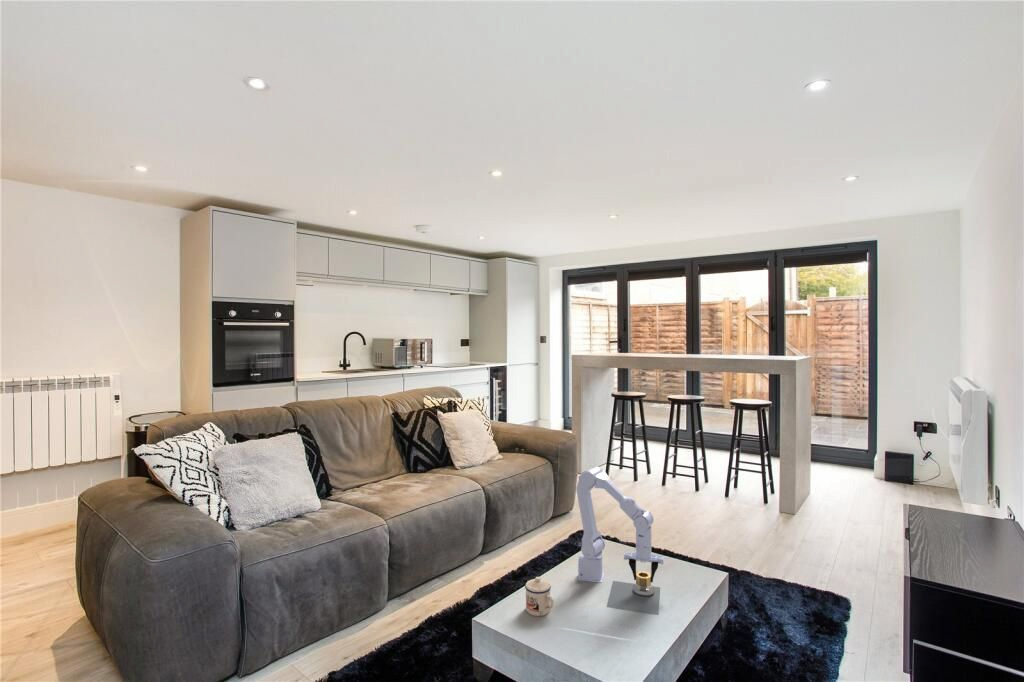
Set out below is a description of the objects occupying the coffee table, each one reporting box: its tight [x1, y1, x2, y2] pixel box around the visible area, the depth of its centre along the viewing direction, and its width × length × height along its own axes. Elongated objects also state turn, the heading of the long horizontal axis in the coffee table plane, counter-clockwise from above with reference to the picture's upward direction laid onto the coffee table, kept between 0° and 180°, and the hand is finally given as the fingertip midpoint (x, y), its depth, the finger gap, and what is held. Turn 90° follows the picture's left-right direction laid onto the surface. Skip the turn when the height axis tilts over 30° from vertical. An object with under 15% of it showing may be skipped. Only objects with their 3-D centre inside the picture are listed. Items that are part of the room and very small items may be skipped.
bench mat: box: [606, 580, 661, 616], centre depth 195 cm, size 18×20×1 cm
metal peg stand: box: [633, 583, 655, 597], centre depth 199 cm, size 8×8×4 cm
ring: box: [635, 570, 652, 587], centre depth 199 cm, size 5×5×3 cm
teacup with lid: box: [524, 576, 555, 617], centre depth 186 cm, size 12×9×12 cm
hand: (643, 579), depth 199 cm, fingers open, 5 cm apart
